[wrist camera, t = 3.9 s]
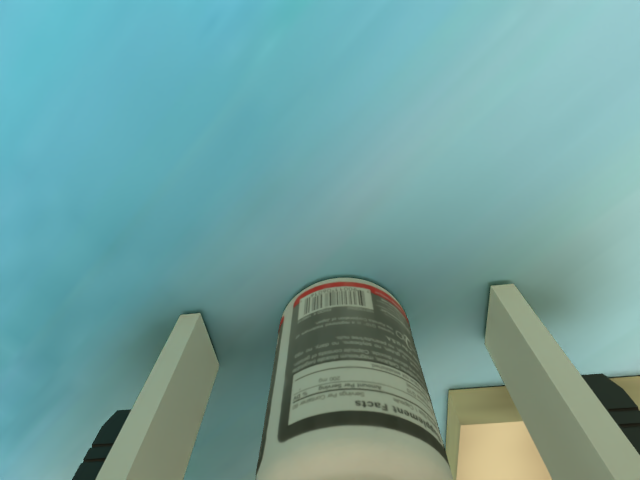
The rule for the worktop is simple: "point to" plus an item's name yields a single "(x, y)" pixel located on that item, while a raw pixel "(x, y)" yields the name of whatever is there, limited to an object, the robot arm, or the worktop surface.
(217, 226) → the worktop surface
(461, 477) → the mount
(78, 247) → the worktop surface
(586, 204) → the worktop surface
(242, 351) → the worktop surface
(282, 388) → the pill bottle
